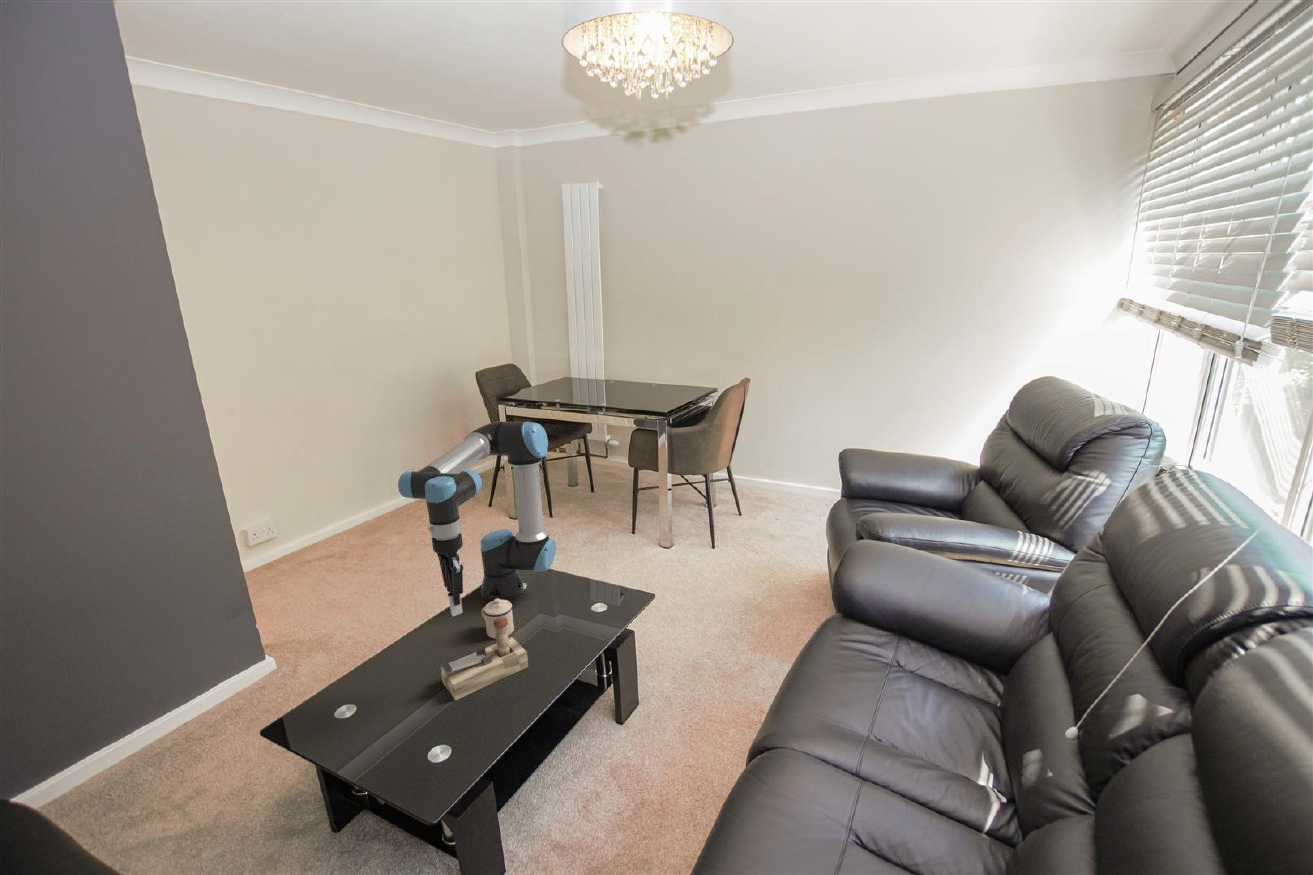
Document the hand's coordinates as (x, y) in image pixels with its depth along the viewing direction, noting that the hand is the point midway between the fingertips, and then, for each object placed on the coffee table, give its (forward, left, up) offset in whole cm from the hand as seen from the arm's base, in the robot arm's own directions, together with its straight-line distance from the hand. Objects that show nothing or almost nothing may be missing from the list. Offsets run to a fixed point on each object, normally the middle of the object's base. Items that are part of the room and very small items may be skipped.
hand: (456, 613), depth 161 cm
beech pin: (0, +12, -22) cm, 25 cm away
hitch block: (0, +6, -22) cm, 23 cm away
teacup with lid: (-19, +18, -23) cm, 34 cm away
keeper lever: (0, 0, -16) cm, 16 cm away
